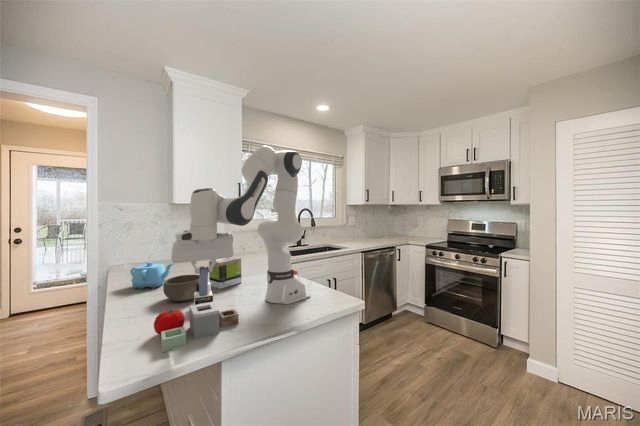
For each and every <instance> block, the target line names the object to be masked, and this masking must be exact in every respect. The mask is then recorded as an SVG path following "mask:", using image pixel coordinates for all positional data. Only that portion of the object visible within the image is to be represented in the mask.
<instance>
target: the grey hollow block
mask: <svg viewBox="0 0 640 426" xmlns="http://www.w3.org/2000/svg"><path fill="white" fill-rule="evenodd" d="M219 312H220V310H219V308H218V307H217V305H216V304H215V302H214V301H213V302H208V303H203V304H197V305H194V304H193V305H189V330H190V332H191V335H192V336H193V339H194V340H196V339H197V340H198V339H200V338H204V337H208V336H213V335H217V334H220V323H219Z"/></svg>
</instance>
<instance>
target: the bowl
mask: <svg viewBox="0 0 640 426" xmlns="http://www.w3.org/2000/svg"><path fill="white" fill-rule="evenodd" d="M197 283H199V274H181V275H177V276H173V277H169V278H167V279H165V282H163V283H162V285H163V286H162V288H163V294H164V295H165V297H167V298H168V299H169V300H170V301H173V302H178V303H179V302H180V303H181V302H188V301H192V300H194V293H195V292H196V284H197Z"/></svg>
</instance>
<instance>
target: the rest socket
mask: <svg viewBox="0 0 640 426" xmlns="http://www.w3.org/2000/svg"><path fill="white" fill-rule="evenodd" d="M160 340H161V341H160V342H161V343H160V344H161V350H162V353H167V352H169V351H172V348H175V347H178V346H183V345H187V333H186V330H185V326H183V327H180V328H175V329H170V330H166V331H161V336H160Z"/></svg>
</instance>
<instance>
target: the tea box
mask: <svg viewBox="0 0 640 426" xmlns="http://www.w3.org/2000/svg"><path fill="white" fill-rule="evenodd" d="M211 263H212V262H211V260H208V267H209V266H210V265H211ZM208 282H210V283H211V286H212V287H211V288H215V289H219V290H220V289H224V288H227V287H231V286H234V285H237V284H238V285H239V284H241V283H242V258H240V257H234V256H232V257H231V258H223V259H216V263H215V265H214V266H213V272H208Z"/></svg>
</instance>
